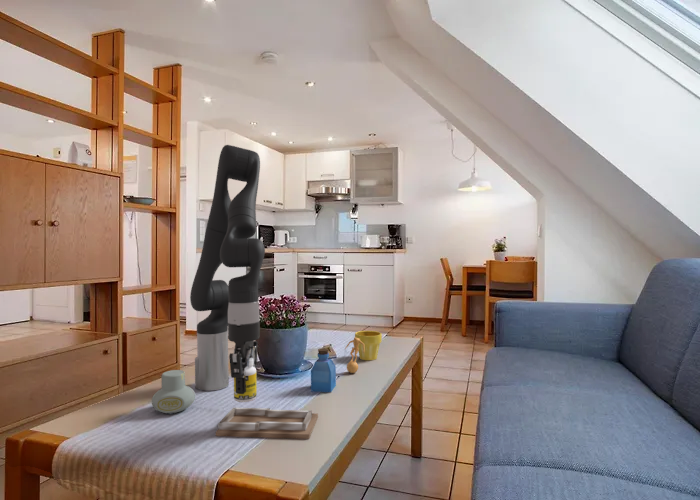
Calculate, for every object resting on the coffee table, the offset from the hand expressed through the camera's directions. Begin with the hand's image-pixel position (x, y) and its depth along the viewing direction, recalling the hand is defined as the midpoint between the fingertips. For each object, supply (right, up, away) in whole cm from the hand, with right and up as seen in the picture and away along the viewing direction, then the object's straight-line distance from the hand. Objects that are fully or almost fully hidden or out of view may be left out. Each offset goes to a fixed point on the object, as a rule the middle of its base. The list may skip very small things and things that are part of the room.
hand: (245, 388), depth 105 cm
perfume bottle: (+18, -9, +26) cm, 33 cm away
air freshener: (-22, -9, +11) cm, 26 cm away
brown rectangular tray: (+6, -9, -1) cm, 11 cm away
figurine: (+27, -8, +43) cm, 51 cm away
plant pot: (+33, -8, +60) cm, 69 cm away
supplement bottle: (0, -3, 0) cm, 3 cm away
